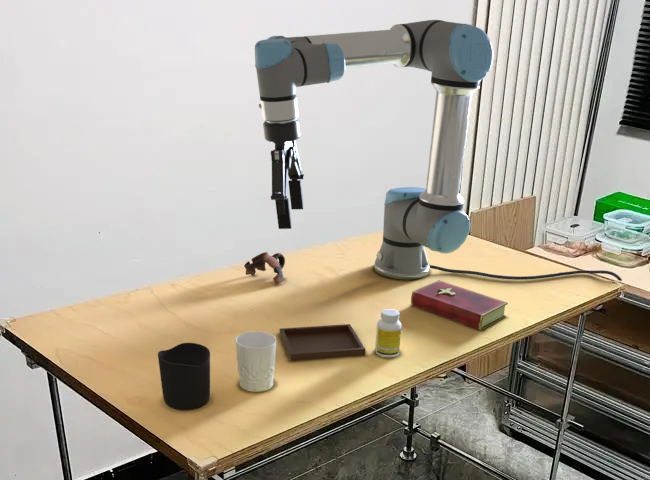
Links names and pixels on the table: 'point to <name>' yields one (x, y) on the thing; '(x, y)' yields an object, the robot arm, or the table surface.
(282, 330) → the tray
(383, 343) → the supplement bottle
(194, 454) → the table surface
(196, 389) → the pen holder
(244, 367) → the white cup
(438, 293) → the hardcover book
